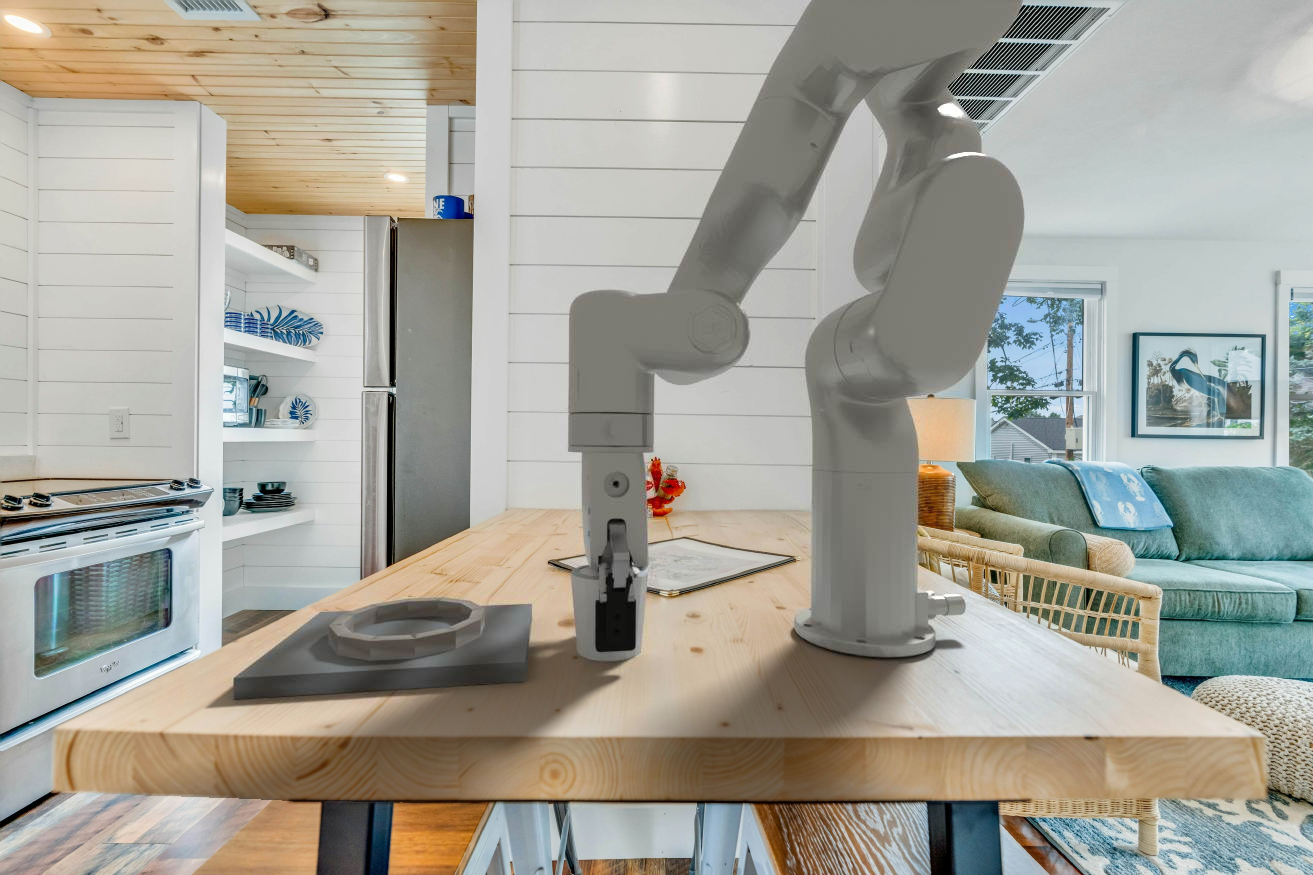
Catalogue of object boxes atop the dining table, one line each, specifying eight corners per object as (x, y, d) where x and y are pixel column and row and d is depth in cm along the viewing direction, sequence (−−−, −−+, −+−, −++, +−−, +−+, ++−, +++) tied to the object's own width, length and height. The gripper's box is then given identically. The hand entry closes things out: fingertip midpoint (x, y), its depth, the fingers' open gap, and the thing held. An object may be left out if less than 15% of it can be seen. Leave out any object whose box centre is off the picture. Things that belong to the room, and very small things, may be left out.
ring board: (531, 618, 61) (532, 588, 61) (524, 681, 45) (525, 641, 45) (320, 627, 58) (320, 596, 58) (233, 699, 42) (233, 656, 42)
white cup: (638, 667, 48) (639, 580, 48) (558, 660, 50) (558, 576, 50) (655, 639, 55) (656, 563, 55) (584, 633, 57) (585, 559, 57)
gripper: (672, 436, 45) (670, 665, 45) (639, 436, 62) (637, 602, 62) (571, 435, 43) (569, 671, 43) (565, 435, 60) (564, 604, 60)
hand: (609, 630), depth 52 cm, fingers open, 9 cm apart
